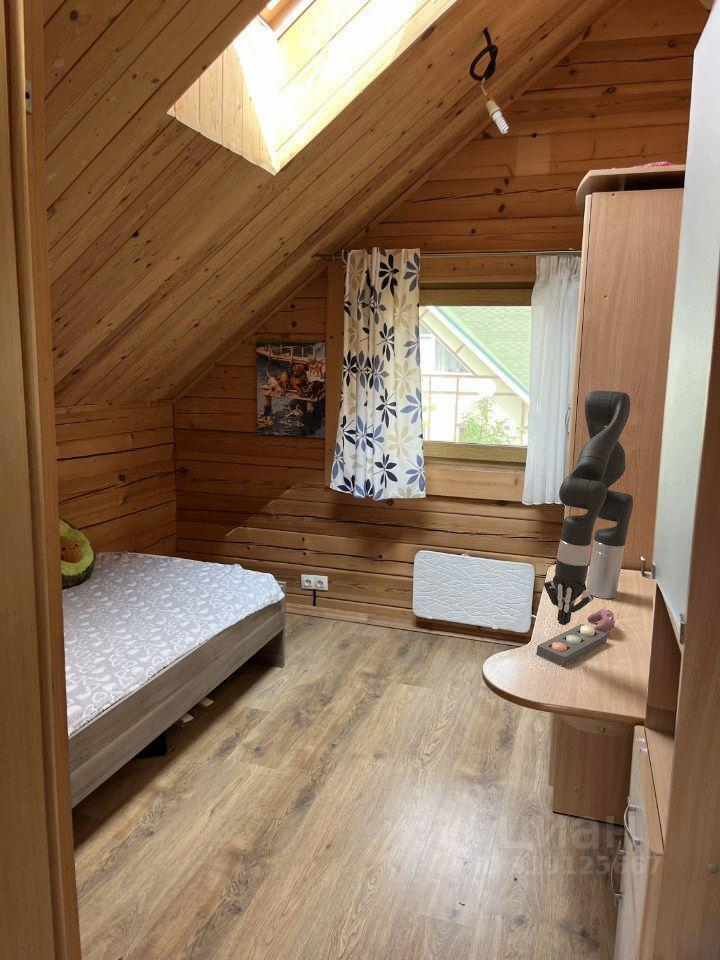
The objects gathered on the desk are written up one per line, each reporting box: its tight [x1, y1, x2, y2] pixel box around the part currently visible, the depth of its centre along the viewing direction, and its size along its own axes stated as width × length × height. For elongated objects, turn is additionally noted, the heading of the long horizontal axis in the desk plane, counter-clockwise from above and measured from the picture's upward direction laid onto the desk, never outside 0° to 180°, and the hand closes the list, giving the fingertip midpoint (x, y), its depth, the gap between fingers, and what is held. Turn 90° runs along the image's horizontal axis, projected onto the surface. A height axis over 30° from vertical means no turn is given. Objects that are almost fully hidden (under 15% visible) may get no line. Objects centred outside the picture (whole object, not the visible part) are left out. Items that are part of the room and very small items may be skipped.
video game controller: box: [587, 607, 616, 633], centre depth 190 cm, size 10×5×7 cm
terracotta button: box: [552, 642, 567, 652], centre depth 173 cm, size 4×4×2 cm
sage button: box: [566, 635, 581, 645], centre depth 177 cm, size 4×4×2 cm
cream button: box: [580, 625, 595, 638], centre depth 182 cm, size 4×4×2 cm
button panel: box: [535, 623, 608, 667], centre depth 178 cm, size 22×8×2 cm, turn 133°
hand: (563, 623), depth 171 cm, fingers closed
